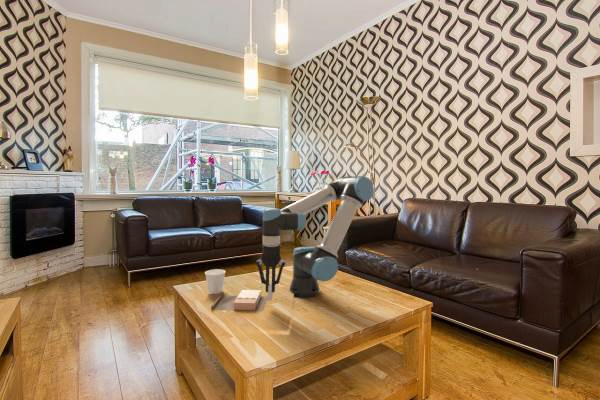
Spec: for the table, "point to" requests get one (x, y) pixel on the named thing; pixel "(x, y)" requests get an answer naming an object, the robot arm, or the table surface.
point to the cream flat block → (250, 294)
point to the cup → (215, 280)
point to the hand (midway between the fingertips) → (270, 299)
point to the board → (228, 303)
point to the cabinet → (245, 304)
